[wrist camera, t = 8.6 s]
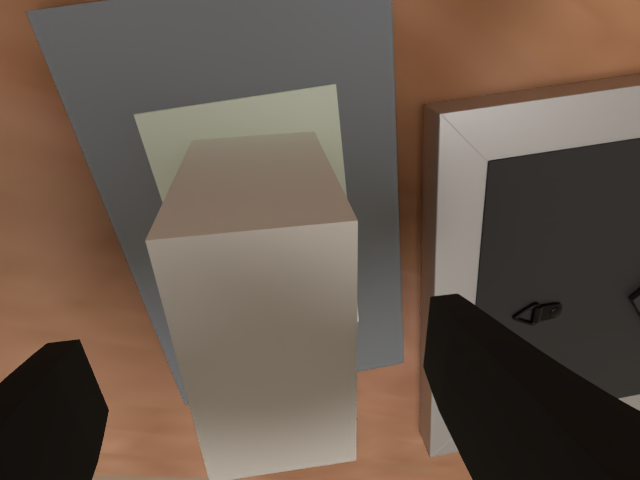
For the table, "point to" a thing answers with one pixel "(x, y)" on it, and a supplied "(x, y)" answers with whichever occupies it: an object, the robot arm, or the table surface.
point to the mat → (235, 117)
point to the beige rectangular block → (262, 302)
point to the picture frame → (538, 226)
